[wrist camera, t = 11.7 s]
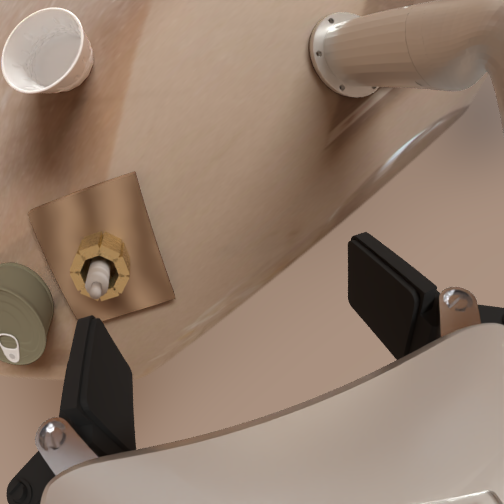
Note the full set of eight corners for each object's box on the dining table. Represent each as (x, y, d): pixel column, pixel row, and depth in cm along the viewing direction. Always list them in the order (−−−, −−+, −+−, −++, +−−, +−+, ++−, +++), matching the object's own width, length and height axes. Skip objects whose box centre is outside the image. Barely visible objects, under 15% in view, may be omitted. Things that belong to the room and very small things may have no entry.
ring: (118, 225, 34) (116, 238, 31) (135, 273, 37) (136, 290, 34) (68, 242, 33) (62, 256, 29) (89, 288, 36) (85, 306, 33)
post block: (135, 171, 34) (132, 190, 26) (174, 292, 42) (184, 337, 34) (31, 209, 31) (3, 240, 23) (82, 320, 39) (75, 368, 31)
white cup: (84, 103, 28) (63, 100, 20) (26, 91, 25) (-11, 88, 17) (109, 38, 26) (98, 13, 18) (50, 28, 23) (22, 4, 14)
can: (50, 262, 34) (37, 290, 29) (60, 336, 39) (53, 369, 33) (-24, 258, 30) (-44, 284, 24) (-7, 330, 34) (-20, 360, 29)
